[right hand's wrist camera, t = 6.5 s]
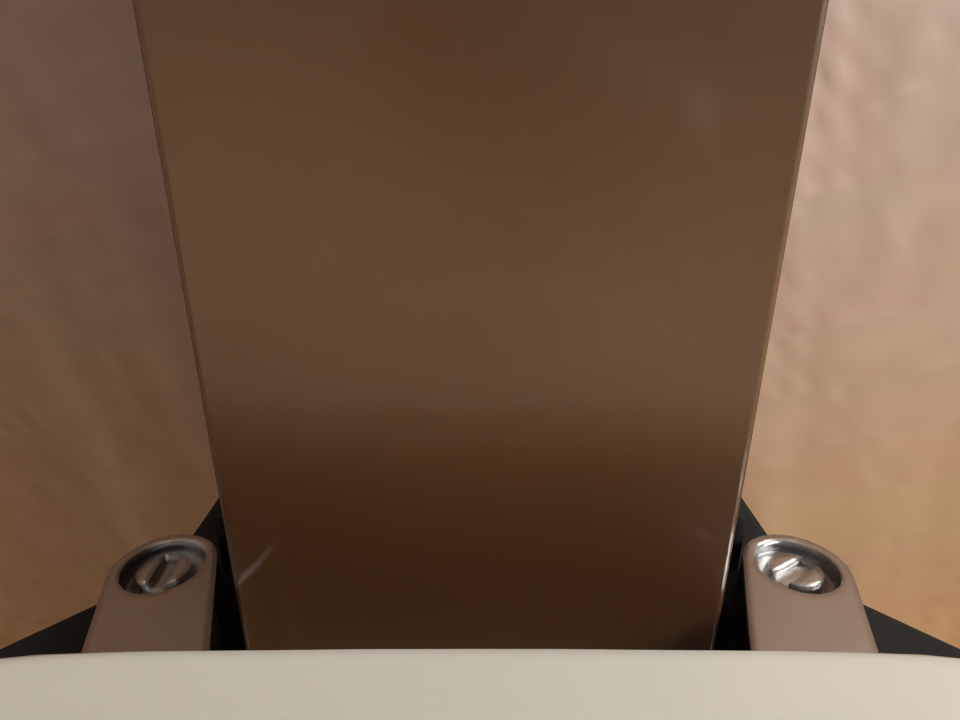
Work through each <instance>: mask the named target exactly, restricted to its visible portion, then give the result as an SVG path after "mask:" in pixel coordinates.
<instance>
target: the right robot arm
mask: <svg viewBox="0 0 960 720" xmlns="http://www.w3.org/2000/svg"><path fill="white" fill-rule="evenodd" d="M0 720H960V649H958V648H956V647H954V646H952V645H949V644H947V643H945V642H943V641H941V640H939V639H936V638H934V637H932V636H930V635H928V634H926V633H923V632H921V631H919V630H917V629H915V628H913V627H910V626H908V625H906V624H904V623H902V622H900V621H898V620H895V619H893V618H891V617H889V616H887V615H885V614H882V613H880V612H878V611H876V610H874V609H872V608H869V607H867V606H865V605H863V603H862V600H861V597H860V594H859V591H858V588H857V585H856V582H855V579H854V576H853V575H852V573H851V571H850V569H849V568H848V566H847V565H846V564H845V563H844V562H843V561H842V560H841V559H840V558H839V557H838V556H836V555H835V554H833V553H831V552H830V551H828V550H827V549H825V548H824V547H821V546H819V545H817V544H814V543H812V542H810V541H808V540H804V539H800V538H796V537H793V536H785V535H767V534H766V533H765V531H764V530H763V528H762V527H761V525H760V524H759V522H758V521H757V520H756V518H755V517H754V515H753V514H752V512H751V511H750V509H749V508H748V507H747V505H746V504H745V502H744V501H743V499H742V498H741V501H740V507H739V512H738V518H737V524H736V529H735V535H734V541H733V546H732V552H731V558H730V563H729V569H728V575H727V580H726V586H725V592H724V597H723V603H722V609H721V615H720V620H719V626H718V632H717V637H716V643H715V649H714V650H603V649H337V650H246V647H245V642H244V636H243V630H242V624H241V619H240V613H239V607H238V601H237V596H236V590H235V584H234V579H233V573H232V567H231V561H230V556H229V550H228V544H227V538H226V533H225V527H224V521H223V516H222V510H221V504H220V498H219V499H218V500H217V502H216V503H215V505H214V506H213V507H212V509H211V510H210V512H209V513H208V515H207V516H206V518H205V519H204V520H203V522H202V523H201V525H200V526H199V528H198V529H197V531H196V532H195V533H194V535H175V536H167V537H164V538H160V539H156V540H152V541H150V542H148V543H146V544H143V545H141V546H139V547H136V548H135V549H133V550H132V551H130V552H129V553H127V554H125V555H124V556H122V557H121V558H120V559H119V560H118V561H117V562H116V563H115V564H114V565H113V566H112V568H111V569H110V571H109V573H108V575H107V576H106V579H105V582H104V585H103V588H102V591H101V594H100V597H99V600H98V603H97V605H95V606H93V607H91V608H89V609H87V610H85V611H82V612H80V613H78V614H76V615H74V616H72V617H69V618H67V619H65V620H63V621H61V622H59V623H56V624H54V625H52V626H50V627H48V628H46V629H43V630H41V631H39V632H37V633H35V634H33V635H30V636H28V637H26V638H24V639H22V640H20V641H18V642H15V643H13V644H11V645H9V646H7V647H5V648H2V649H0Z"/></svg>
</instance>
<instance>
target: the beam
mask: <svg viewBox="0 0 960 720" xmlns="http://www.w3.org/2000/svg"><path fill="white" fill-rule="evenodd" d="M828 1H829V0H133V6H134V12H135V17H136V23H137V29H138V34H139V40H140V46H141V52H142V57H143V63H144V69H145V75H146V80H147V86H148V92H149V97H150V103H151V109H152V115H153V120H154V126H155V132H156V138H157V143H158V149H159V155H160V160H161V166H162V172H163V178H164V183H165V189H166V195H167V201H168V206H169V212H170V218H171V223H172V229H173V235H174V241H175V246H176V252H177V258H178V264H179V269H180V275H181V281H182V286H183V292H184V298H185V304H186V309H187V315H188V321H189V327H190V332H191V338H192V344H193V349H194V355H195V361H196V367H197V372H198V378H199V384H200V390H201V395H202V401H203V407H204V412H205V418H206V424H207V430H208V435H209V441H210V447H211V453H212V458H213V464H214V470H215V475H216V481H217V487H218V493H219V498H220V504H221V510H222V516H223V521H224V527H225V533H226V538H227V544H228V550H229V556H230V561H231V567H232V573H233V579H234V584H235V590H236V596H237V601H238V607H239V613H240V619H241V624H242V630H243V636H244V642H245V647H246V650H337V649H603V650H714V649H715V643H716V637H717V632H718V626H719V620H720V615H721V609H722V603H723V597H724V592H725V586H726V580H727V575H728V569H729V563H730V558H731V552H732V546H733V541H734V535H735V529H736V524H737V518H738V512H739V507H740V501H741V495H742V490H743V484H744V478H745V473H746V467H747V461H748V456H749V450H750V444H751V438H752V433H753V427H754V421H755V416H756V410H757V404H758V399H759V393H760V387H761V382H762V376H763V370H764V365H765V359H766V353H767V348H768V342H769V336H770V331H771V325H772V319H773V314H774V308H775V302H776V296H777V291H778V285H779V279H780V274H781V268H782V262H783V257H784V251H785V245H786V240H787V234H788V228H789V223H790V217H791V211H792V206H793V200H794V194H795V189H796V183H797V177H798V172H799V166H800V160H801V155H802V149H803V143H804V137H805V132H806V126H807V120H808V115H809V109H810V103H811V98H812V92H813V86H814V81H815V75H816V69H817V64H818V58H819V52H820V47H821V41H822V35H823V30H824V24H825V18H826V13H827V7H828Z"/></svg>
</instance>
